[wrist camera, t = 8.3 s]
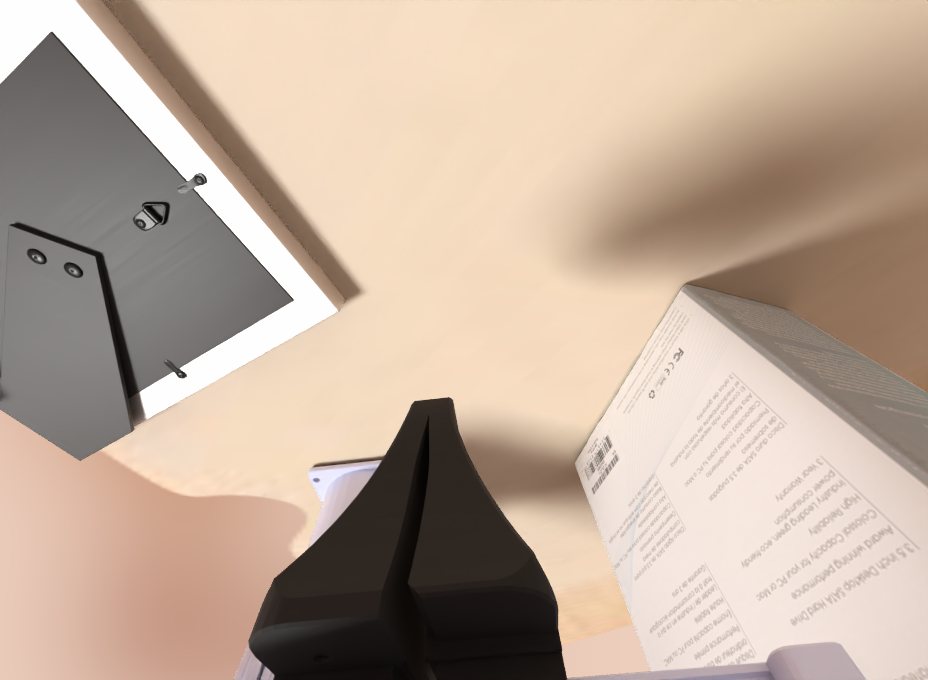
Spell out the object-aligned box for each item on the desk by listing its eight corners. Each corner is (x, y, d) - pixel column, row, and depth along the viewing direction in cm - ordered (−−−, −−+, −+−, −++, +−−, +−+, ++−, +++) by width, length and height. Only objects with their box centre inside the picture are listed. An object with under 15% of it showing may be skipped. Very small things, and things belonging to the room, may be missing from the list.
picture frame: (113, 428, 27) (348, 294, 22) (80, 461, 24) (335, 318, 19) (-176, 236, 19) (81, -37, 14) (-266, 255, 17) (7, -65, 12)
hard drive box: (660, 476, 30) (926, 955, 13) (571, 462, 29) (738, 968, 12) (796, 305, 22) (1900, 959, 5) (681, 276, 21) (1626, 998, 4)
